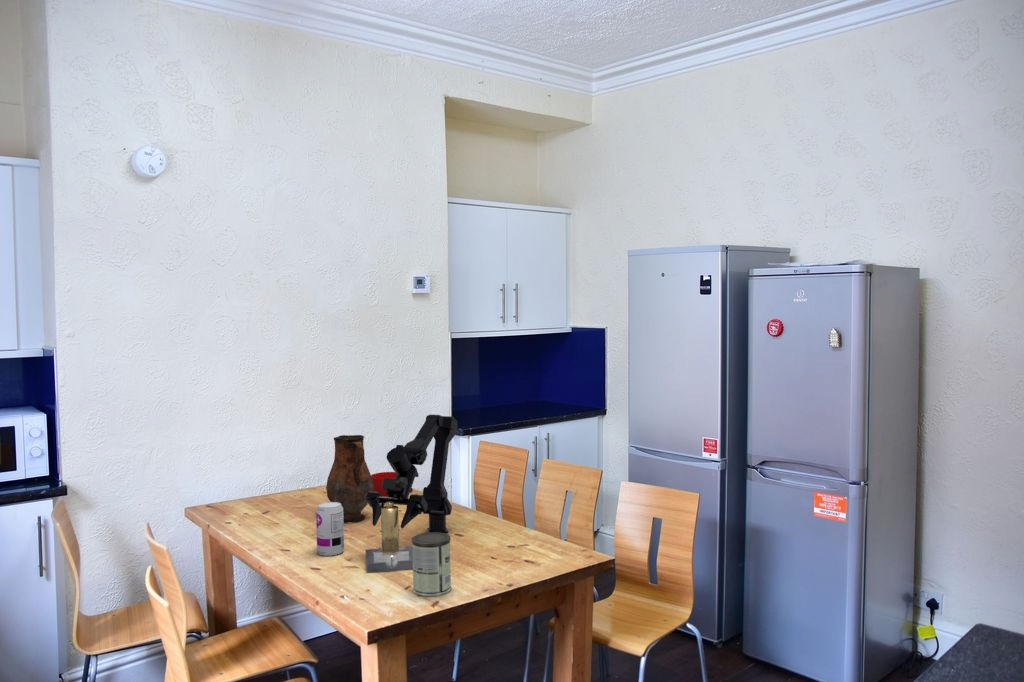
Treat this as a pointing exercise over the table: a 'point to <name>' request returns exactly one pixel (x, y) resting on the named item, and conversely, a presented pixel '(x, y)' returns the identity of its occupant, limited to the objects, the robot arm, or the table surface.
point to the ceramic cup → (381, 481)
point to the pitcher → (349, 477)
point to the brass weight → (389, 528)
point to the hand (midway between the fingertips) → (387, 526)
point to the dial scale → (389, 560)
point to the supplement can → (330, 528)
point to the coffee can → (431, 564)
